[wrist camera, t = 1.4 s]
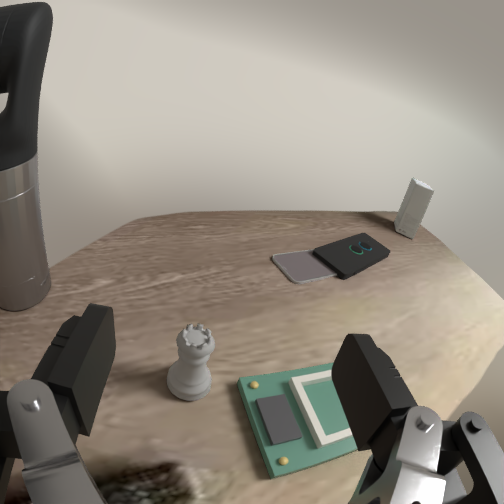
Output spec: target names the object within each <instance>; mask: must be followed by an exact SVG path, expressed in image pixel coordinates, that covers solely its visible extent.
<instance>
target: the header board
mask: <svg viewBox="0 0 504 504" xmlns="http://www.w3.org/2000/svg"><path fill="white" fill-rule="evenodd" d="M333 363H334V362H333ZM333 363H329V364H324V365H318V366H313V367H308V368H302V369H296V370H290V371H284V372H278V373H271V374H264V375H257V376H249V377H241V378H239V380H238V382H237V385H238V388H239V391H240V394H241V397H242V400H243V403H244V406H245V409H246V412H247V415H248V418H249V421H250V423H251V426H252V429H253V432H254V435H255V438H256V440H257V443H258V446H259V449H260V451H261V454H262V457H263V460H264V462H265V465H266V468H267V470H268V473H269V476H270V478H271V479H273V478H277V477H281V476H284V475H288V474H291V473H295V472H298V471H301V470H304V469H308V468H311V467H314V466H317V465H320V464H322V463H325V462H328V461H331V460H333V459H336V458H339V457H341V456H344V455H347V454H349V453H351V452H354V451H356V450H358V449H357V446H356V443H355V440H354V438H353V435H352V432H351V429H350V427H349V424H348V421H347V419H346V416H345V413H344V411H343V408H342V405H341V403H340V400H339V397H338V395H337V392H336V389H335V387H334V384H333V382H332V377H331V370H332V366H333Z"/></svg>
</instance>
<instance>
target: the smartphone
mask: <svg viewBox="0 0 504 504" xmlns="http://www.w3.org/2000/svg"><path fill="white" fill-rule="evenodd" d="M313 250H314V249H313ZM313 250H305V251H297V252H290V253H282V254H275V255H273V258H272V260H273V261H274V263H275V264H276V265H277V266H278V267H279V268H280V269H281V270H282V271H283V273H284V274H285V275H286V276H287V277H288V278H289V279H290V280H291V281H292V282H293V283H295V284H304V283H309V282H313V281H317V280H321V279H325V278H329V277H333V276H337V273H335V272H334V271H333V270H331V269H330V268H329V267H328V266H326V265H325V264H324V263H323V262H321V261H320V260H319V259H317V258H316V257H315V256H314V255H312V253H313Z"/></svg>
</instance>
